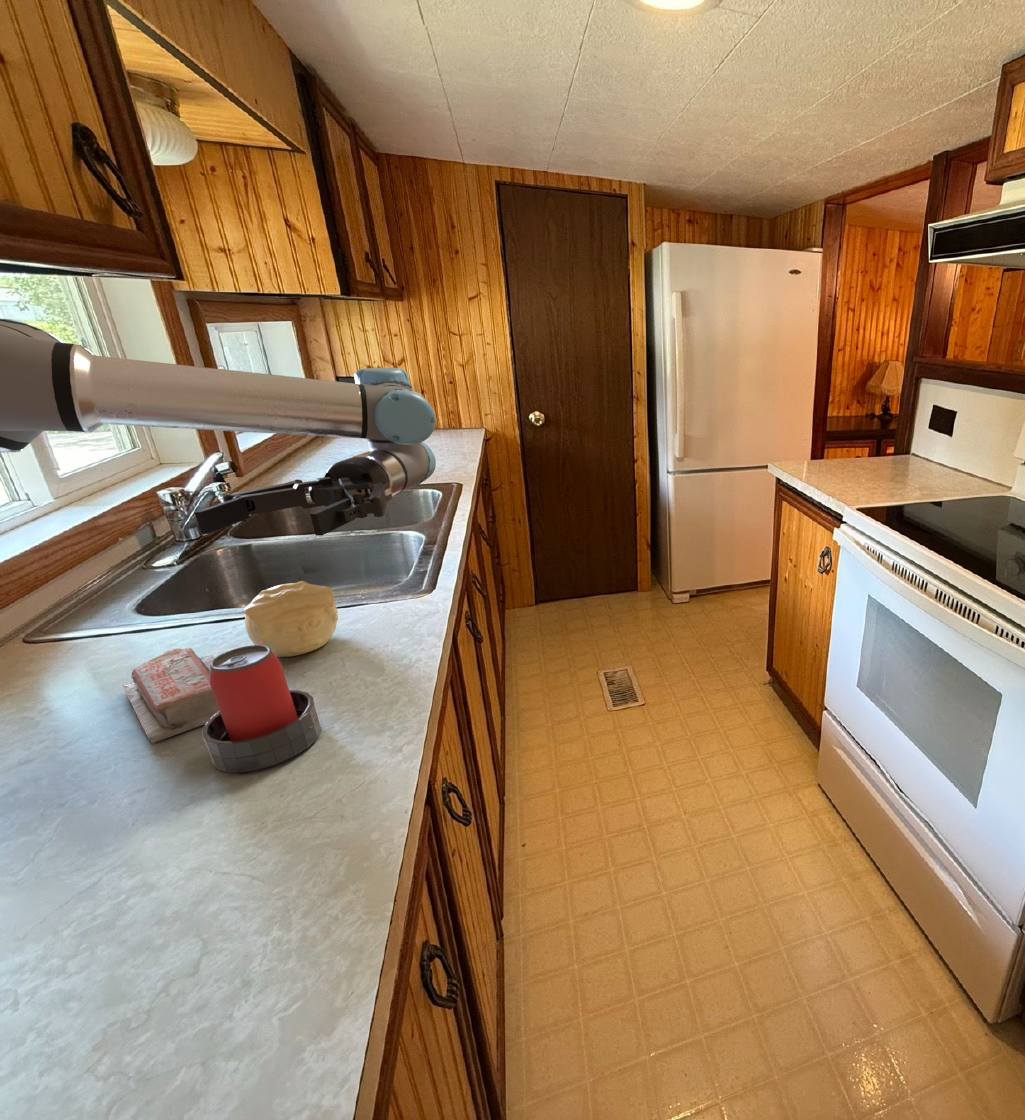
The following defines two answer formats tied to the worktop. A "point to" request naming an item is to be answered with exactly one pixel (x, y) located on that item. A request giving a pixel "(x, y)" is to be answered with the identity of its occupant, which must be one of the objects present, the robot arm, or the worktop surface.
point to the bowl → (263, 739)
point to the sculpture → (292, 618)
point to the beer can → (251, 692)
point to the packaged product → (172, 693)
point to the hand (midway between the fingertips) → (258, 524)
